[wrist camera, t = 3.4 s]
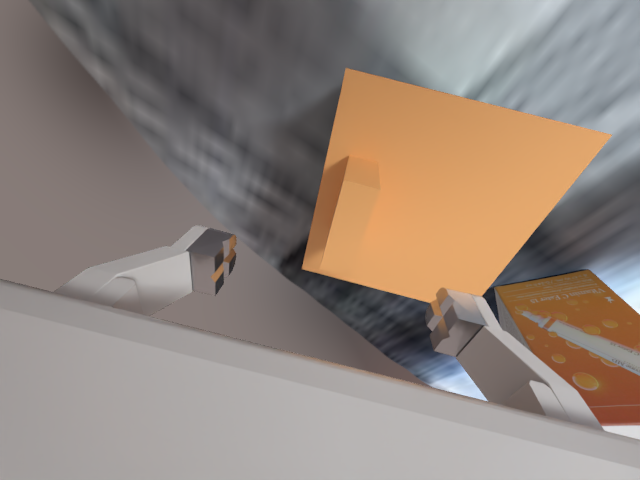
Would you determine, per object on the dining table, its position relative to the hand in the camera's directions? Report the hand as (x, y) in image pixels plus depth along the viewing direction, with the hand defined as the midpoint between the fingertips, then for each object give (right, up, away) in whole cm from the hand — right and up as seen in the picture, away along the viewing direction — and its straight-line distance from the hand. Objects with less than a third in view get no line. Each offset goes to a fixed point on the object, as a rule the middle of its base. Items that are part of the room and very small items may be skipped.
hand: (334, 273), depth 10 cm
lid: (+6, +4, +7) cm, 10 cm away
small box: (+22, -5, +17) cm, 28 cm away
